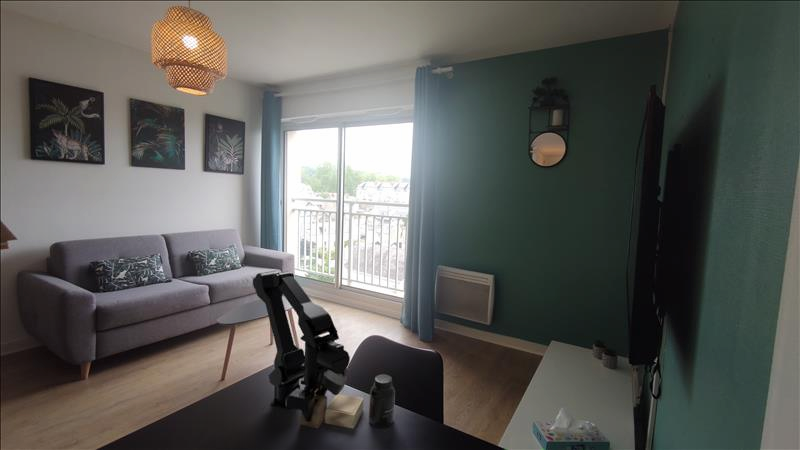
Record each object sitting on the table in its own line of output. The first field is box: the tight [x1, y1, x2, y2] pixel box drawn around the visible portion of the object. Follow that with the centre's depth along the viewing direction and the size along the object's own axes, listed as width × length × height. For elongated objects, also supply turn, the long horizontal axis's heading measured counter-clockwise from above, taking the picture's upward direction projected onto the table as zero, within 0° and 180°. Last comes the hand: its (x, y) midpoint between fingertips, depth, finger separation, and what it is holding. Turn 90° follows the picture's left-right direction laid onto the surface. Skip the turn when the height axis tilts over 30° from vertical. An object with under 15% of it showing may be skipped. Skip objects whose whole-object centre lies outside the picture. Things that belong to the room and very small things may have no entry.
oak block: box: [324, 393, 364, 429], centre depth 99 cm, size 8×8×4 cm
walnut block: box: [300, 394, 328, 429], centre depth 97 cm, size 5×5×6 cm
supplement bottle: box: [368, 374, 396, 428], centre depth 98 cm, size 7×7×12 cm
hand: (313, 415), depth 97 cm, fingers closed on walnut block, 5 cm apart
